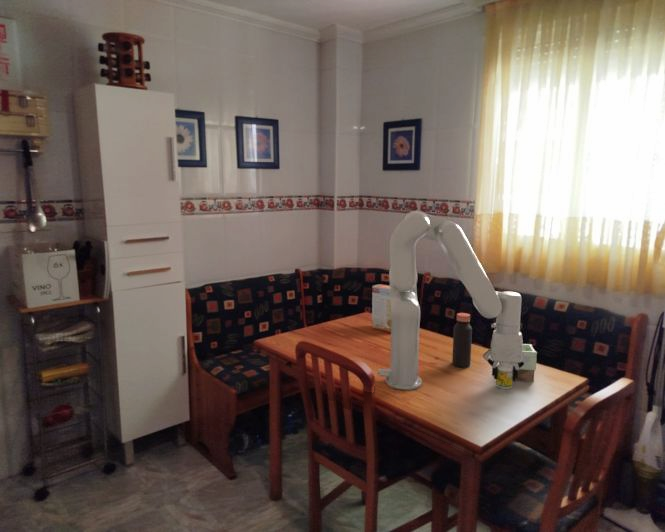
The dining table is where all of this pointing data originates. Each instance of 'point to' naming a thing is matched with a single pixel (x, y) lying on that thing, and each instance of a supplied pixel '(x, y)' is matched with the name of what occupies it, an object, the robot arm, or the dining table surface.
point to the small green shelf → (529, 357)
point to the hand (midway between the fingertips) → (504, 378)
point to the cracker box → (381, 307)
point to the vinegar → (462, 341)
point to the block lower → (525, 375)
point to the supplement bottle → (504, 375)
